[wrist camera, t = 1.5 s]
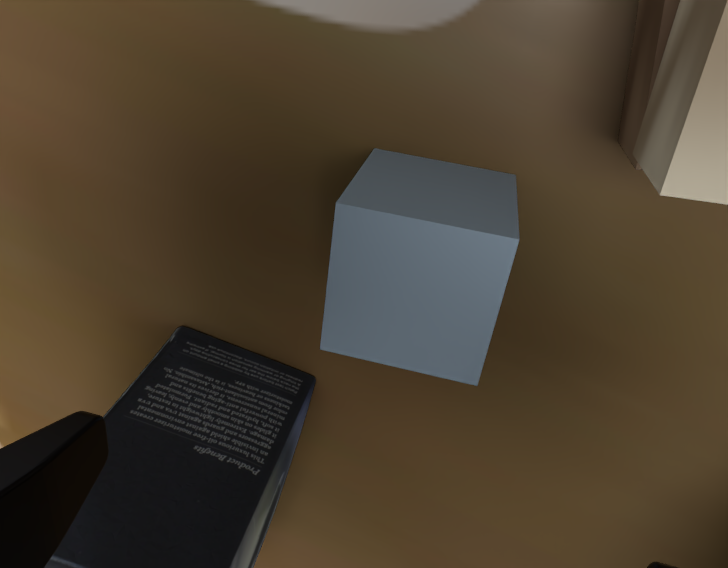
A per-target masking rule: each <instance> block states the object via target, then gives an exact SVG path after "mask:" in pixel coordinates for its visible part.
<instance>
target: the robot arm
mask: <svg viewBox="0 0 728 568" xmlns="http://www.w3.org/2000/svg"><path fill="white" fill-rule="evenodd" d="M108 453H109V447H108V440H107V432H106V424H105V420H104V418H103V417H102V416H100V415H97V414H93V413H89V412H85V411H79V412H75V413H73V414H71V415H69V416H67V417H65V418H63V419H61V420H59V421H56V422H54V423H52V424H50V425H48V426H46V427H44V428H42V429H40V430H38V431H36V432H34V433H32V434H30V435H28V436H26V437H23V438H21V439H19V440H17V441H15V442H13V443H11V444H9V445H7V446H5V447H3V448H1V449H0V568H44V567H45V566H46V564H47V563H48V562H49V560H50V559H51V557H52V556H53V554H54V553H55V551H56V550H57V548H58V547H59V545H60V543H61V542H62V540H63V538H64V537H65V535H66V533H67V531H68V530H69V528H70V526H71V524H72V523H73V521H74V519H75V517H76V515H77V514H78V512H79V510H80V508H81V506H82V505H83V503H84V501H85V499H86V498H87V496H88V494H89V492H90V490H91V489H92V487H93V485H94V483H95V482H96V480H97V478H98V476H99V474H100V473H101V471H102V469H103V467H104V465H105V463H106V461H107V458H108ZM647 568H678V567H675V566H671V565H667V564H664V563H660V562H652V563H650V564H649V566H648V567H647Z"/></svg>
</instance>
